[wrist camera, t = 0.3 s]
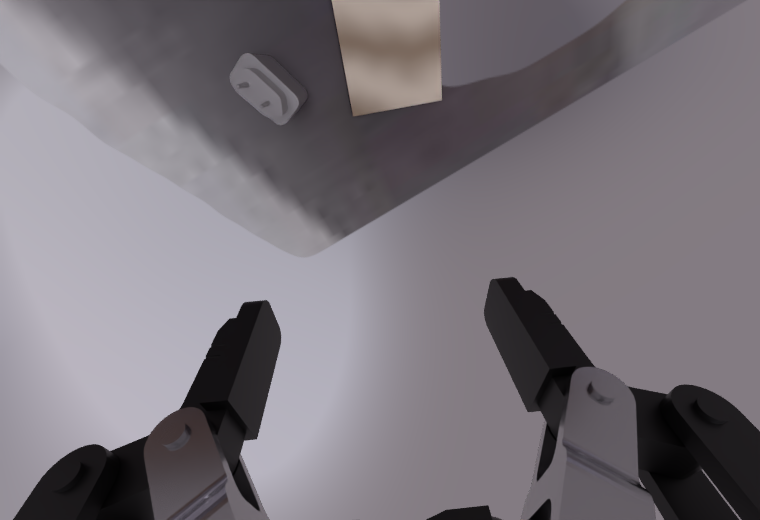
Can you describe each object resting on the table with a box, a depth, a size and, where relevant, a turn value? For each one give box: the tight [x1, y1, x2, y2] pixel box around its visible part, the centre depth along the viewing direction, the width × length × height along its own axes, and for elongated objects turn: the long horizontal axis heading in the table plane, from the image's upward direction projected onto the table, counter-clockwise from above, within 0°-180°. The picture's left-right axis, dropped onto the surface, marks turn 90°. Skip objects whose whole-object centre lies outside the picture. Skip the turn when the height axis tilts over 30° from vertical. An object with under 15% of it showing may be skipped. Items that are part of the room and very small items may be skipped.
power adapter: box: [230, 53, 308, 125], centre depth 26 cm, size 3×5×12 cm, turn 46°
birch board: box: [332, 0, 442, 117], centre depth 29 cm, size 12×10×1 cm
